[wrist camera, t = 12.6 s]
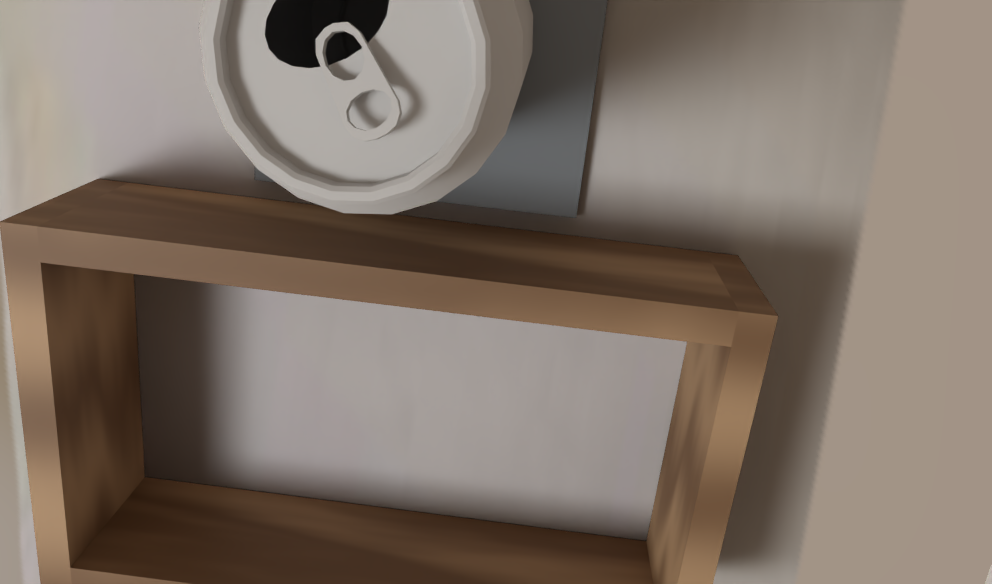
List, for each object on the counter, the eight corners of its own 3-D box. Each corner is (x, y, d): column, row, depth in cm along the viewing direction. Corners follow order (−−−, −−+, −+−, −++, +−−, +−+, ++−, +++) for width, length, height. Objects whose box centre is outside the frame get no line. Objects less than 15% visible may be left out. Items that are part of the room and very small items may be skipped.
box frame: (669, 567, 36) (690, 675, 31) (119, 496, 37) (41, 589, 31) (737, 255, 31) (778, 316, 25) (97, 178, 32) (-1, 221, 26)
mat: (575, 215, 31) (576, 218, 31) (258, 177, 31) (254, 179, 31) (627, -145, 27) (628, -147, 26) (259, -185, 27) (254, -187, 27)
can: (472, -133, 27) (413, -215, 15) (570, 81, 29) (581, 146, 18) (277, -22, 28) (95, -23, 17) (384, 174, 30) (284, 287, 19)
